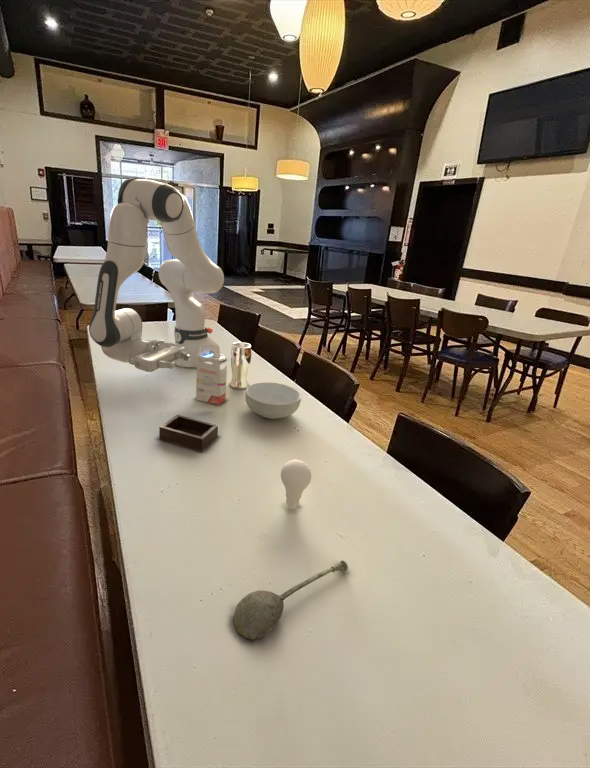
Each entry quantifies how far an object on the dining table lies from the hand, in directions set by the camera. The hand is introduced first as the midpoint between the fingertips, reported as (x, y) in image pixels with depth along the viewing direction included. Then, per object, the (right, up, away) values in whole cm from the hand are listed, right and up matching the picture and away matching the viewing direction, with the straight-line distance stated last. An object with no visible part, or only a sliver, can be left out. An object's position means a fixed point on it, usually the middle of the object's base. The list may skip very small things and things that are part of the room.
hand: (181, 361), depth 132 cm
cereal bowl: (+28, -16, -5) cm, 33 cm away
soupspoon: (+30, -41, -67) cm, 84 cm away
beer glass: (+18, -8, +14) cm, 24 cm away
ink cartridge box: (+9, -12, +1) cm, 15 cm away
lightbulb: (+31, -33, -47) cm, 65 cm away
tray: (+6, -21, -23) cm, 32 cm away
